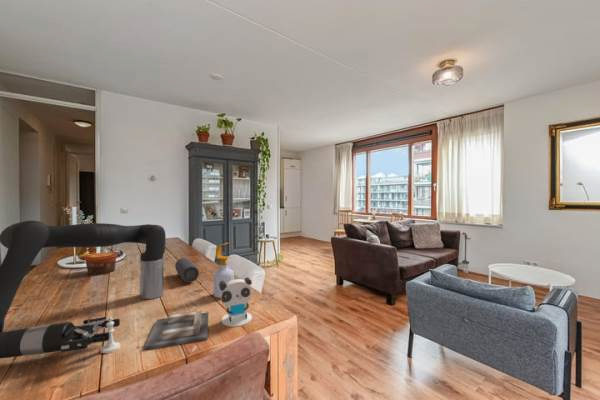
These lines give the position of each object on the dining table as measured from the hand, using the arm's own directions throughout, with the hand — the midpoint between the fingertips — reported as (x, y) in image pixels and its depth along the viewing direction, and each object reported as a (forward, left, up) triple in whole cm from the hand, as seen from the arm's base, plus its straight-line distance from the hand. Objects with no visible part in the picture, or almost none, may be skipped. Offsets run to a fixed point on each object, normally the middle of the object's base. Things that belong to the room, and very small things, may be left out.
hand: (114, 328), depth 79 cm
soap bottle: (0, +47, -6) cm, 48 cm away
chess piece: (-1, -1, -6) cm, 6 cm away
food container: (-91, +40, -6) cm, 99 cm away
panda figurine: (+21, +31, -6) cm, 38 cm away
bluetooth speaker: (-35, +55, -6) cm, 65 cm away
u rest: (+9, +16, -6) cm, 20 cm away
